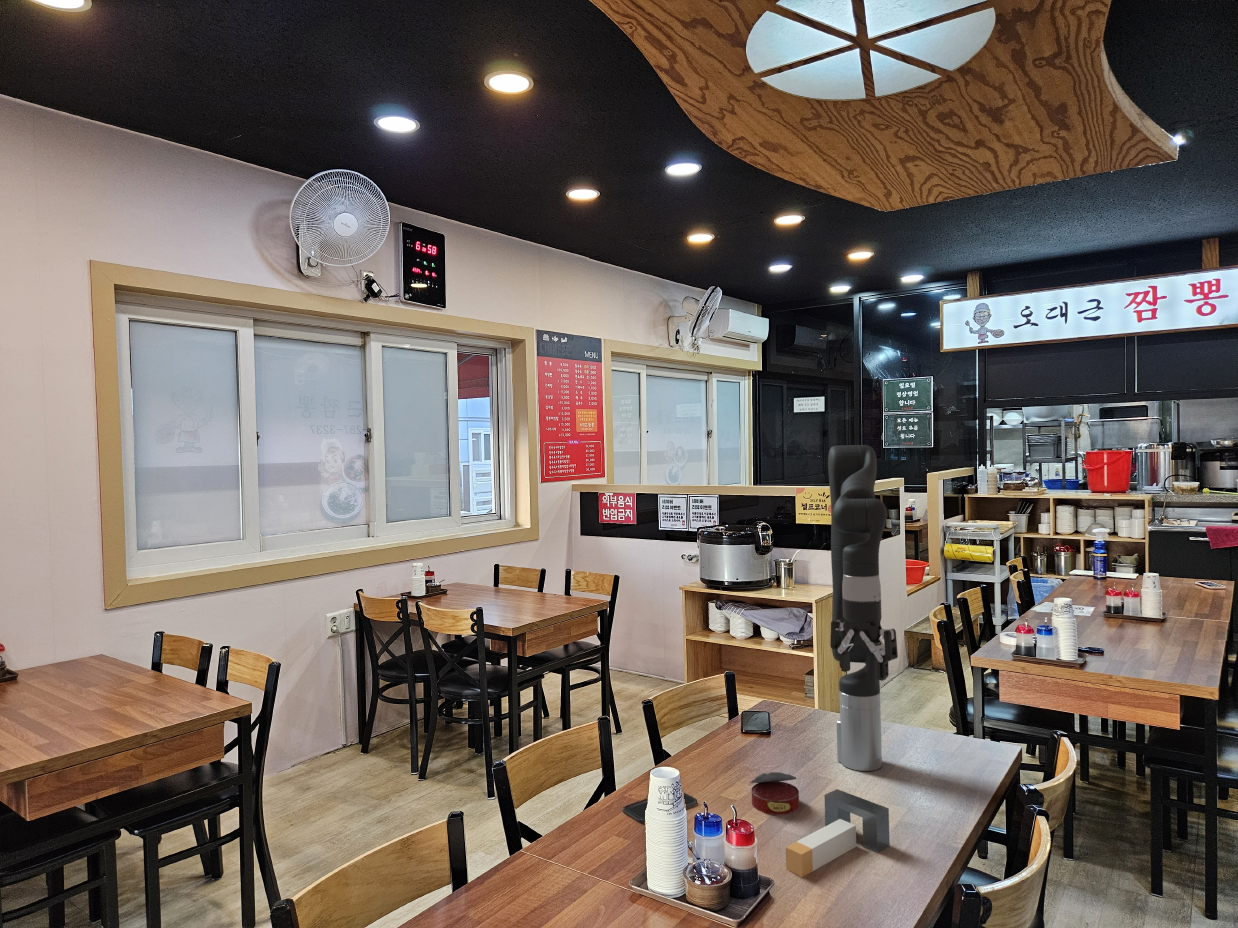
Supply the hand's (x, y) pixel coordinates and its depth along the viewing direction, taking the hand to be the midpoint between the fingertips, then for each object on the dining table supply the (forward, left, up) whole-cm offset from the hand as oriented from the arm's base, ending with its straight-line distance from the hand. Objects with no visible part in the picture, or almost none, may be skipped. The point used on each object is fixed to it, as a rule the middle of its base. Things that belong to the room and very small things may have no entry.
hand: (863, 675), depth 161 cm
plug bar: (+5, -22, -28) cm, 36 cm away
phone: (-30, -30, -29) cm, 51 cm away
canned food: (-15, -11, -28) cm, 34 cm away
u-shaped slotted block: (+5, -11, -28) cm, 30 cm away
